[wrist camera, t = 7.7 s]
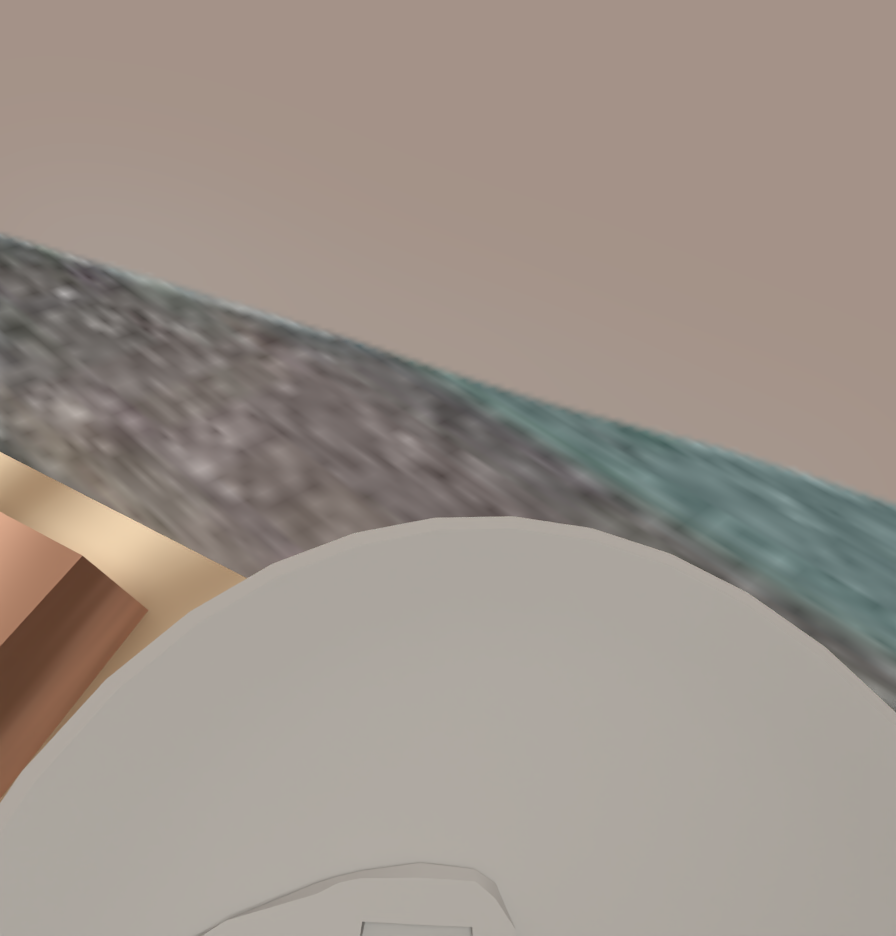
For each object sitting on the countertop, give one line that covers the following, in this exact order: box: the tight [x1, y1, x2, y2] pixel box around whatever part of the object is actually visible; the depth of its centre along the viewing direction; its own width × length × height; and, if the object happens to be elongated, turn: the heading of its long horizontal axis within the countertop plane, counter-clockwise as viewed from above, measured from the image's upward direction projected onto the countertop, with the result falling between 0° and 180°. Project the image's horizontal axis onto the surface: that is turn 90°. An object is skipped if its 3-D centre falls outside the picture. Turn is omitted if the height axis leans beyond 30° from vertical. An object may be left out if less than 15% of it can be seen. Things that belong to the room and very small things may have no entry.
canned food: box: [0, 516, 896, 936], centre depth 8 cm, size 8×8×11 cm
